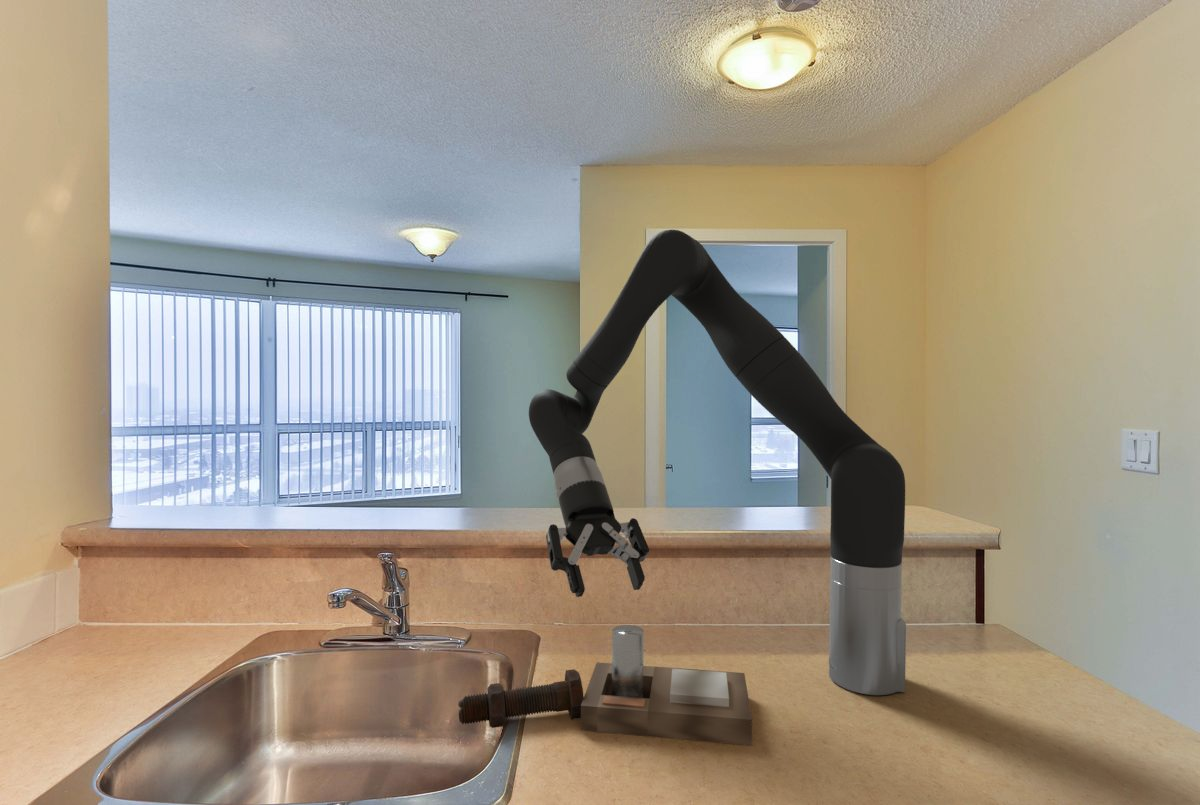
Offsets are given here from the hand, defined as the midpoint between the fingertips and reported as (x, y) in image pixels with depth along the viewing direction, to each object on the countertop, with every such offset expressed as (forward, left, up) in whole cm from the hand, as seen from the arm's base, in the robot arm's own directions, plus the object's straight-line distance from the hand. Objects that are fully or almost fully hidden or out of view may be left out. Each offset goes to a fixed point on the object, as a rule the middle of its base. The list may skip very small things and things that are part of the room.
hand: (610, 590), depth 85 cm
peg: (-3, +5, -13) cm, 15 cm away
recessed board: (-8, +5, -13) cm, 16 cm away
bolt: (+10, +9, -14) cm, 19 cm away
